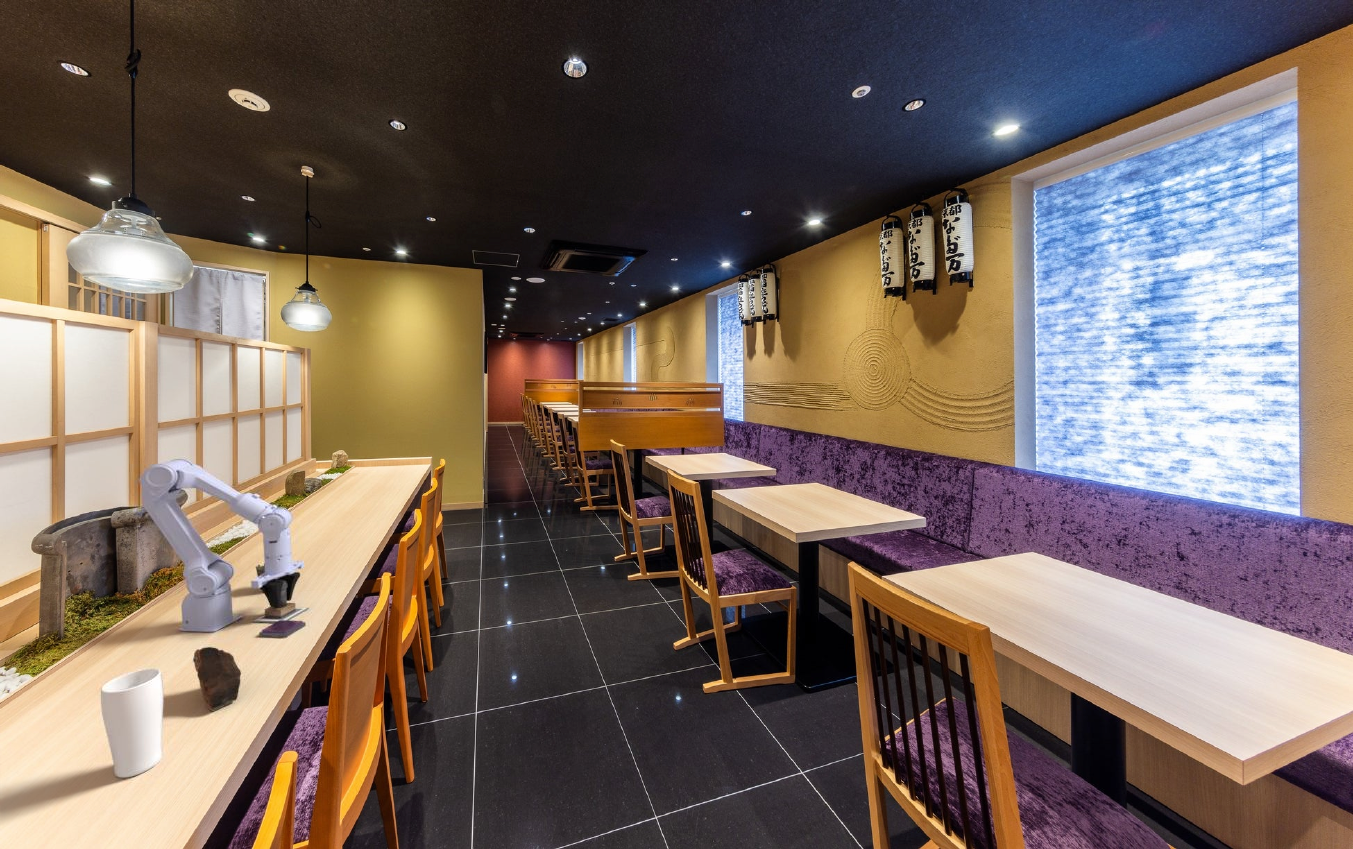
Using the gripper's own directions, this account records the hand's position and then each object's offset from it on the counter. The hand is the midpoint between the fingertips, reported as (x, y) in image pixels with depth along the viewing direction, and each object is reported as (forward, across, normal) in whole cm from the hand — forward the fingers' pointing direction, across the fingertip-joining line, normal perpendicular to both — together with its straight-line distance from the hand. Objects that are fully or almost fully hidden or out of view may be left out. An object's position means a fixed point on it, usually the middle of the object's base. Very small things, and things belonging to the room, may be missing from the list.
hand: (280, 603), depth 134 cm
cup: (+4, +16, +17) cm, 24 cm away
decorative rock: (+4, -34, -17) cm, 38 cm away
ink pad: (+3, -8, -8) cm, 11 cm away
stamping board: (+3, 0, 0) cm, 3 cm away
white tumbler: (+4, -52, -22) cm, 57 cm away
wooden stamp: (+3, 0, 0) cm, 3 cm away
